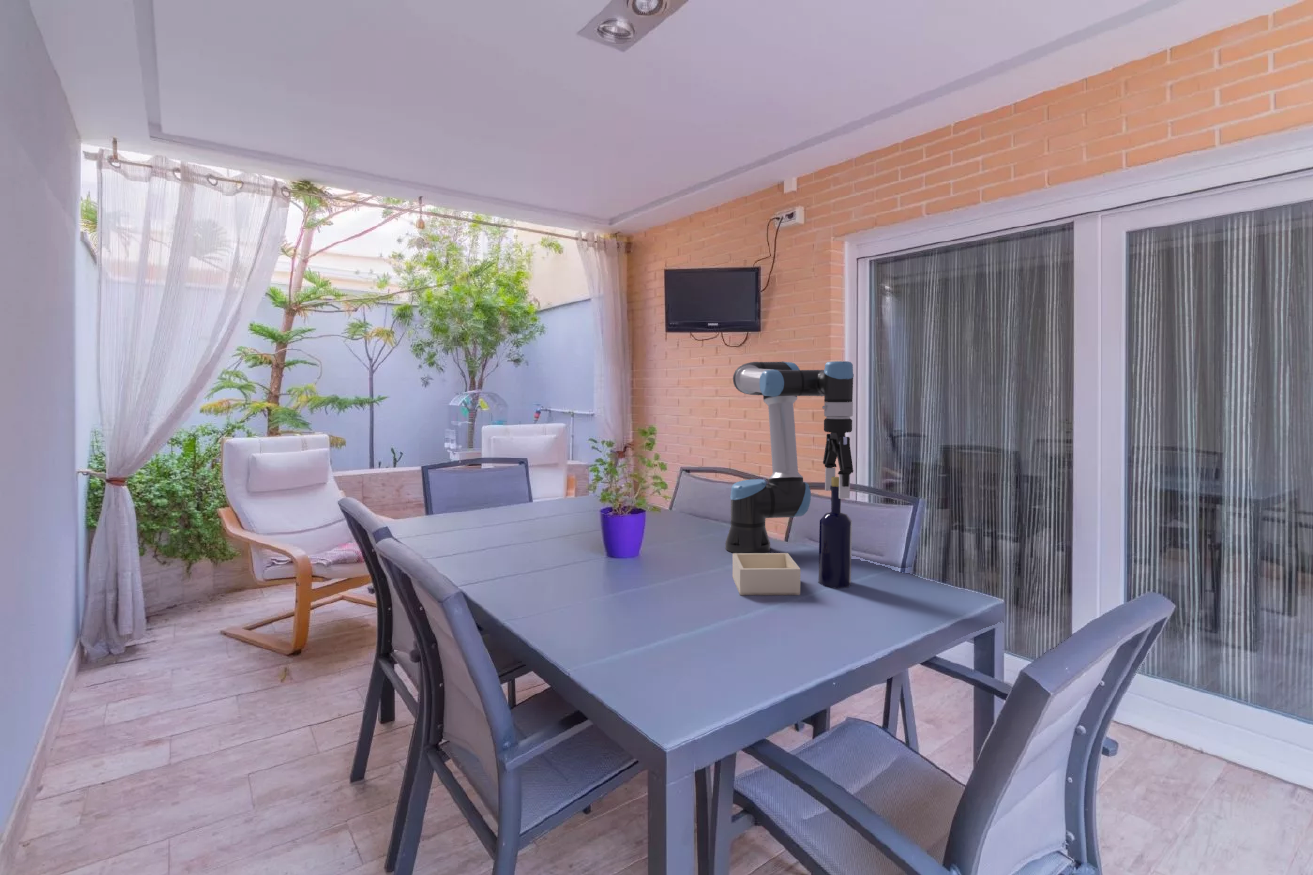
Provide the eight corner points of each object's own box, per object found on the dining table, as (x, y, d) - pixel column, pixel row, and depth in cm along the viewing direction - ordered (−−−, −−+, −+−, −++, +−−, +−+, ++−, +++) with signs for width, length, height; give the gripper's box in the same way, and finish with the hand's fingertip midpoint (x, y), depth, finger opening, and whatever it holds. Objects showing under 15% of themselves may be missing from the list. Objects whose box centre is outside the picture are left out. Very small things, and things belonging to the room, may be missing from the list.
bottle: (848, 578, 182) (850, 475, 179) (854, 588, 173) (857, 480, 170) (815, 577, 183) (817, 474, 180) (820, 587, 174) (822, 479, 171)
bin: (732, 576, 184) (732, 553, 183) (787, 576, 184) (787, 553, 183) (739, 595, 168) (740, 569, 167) (800, 595, 168) (800, 569, 167)
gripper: (813, 416, 186) (812, 487, 188) (837, 420, 161) (836, 502, 163) (838, 415, 186) (837, 487, 188) (866, 419, 161) (865, 502, 163)
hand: (836, 494), depth 175 cm, fingers open, 13 cm apart
